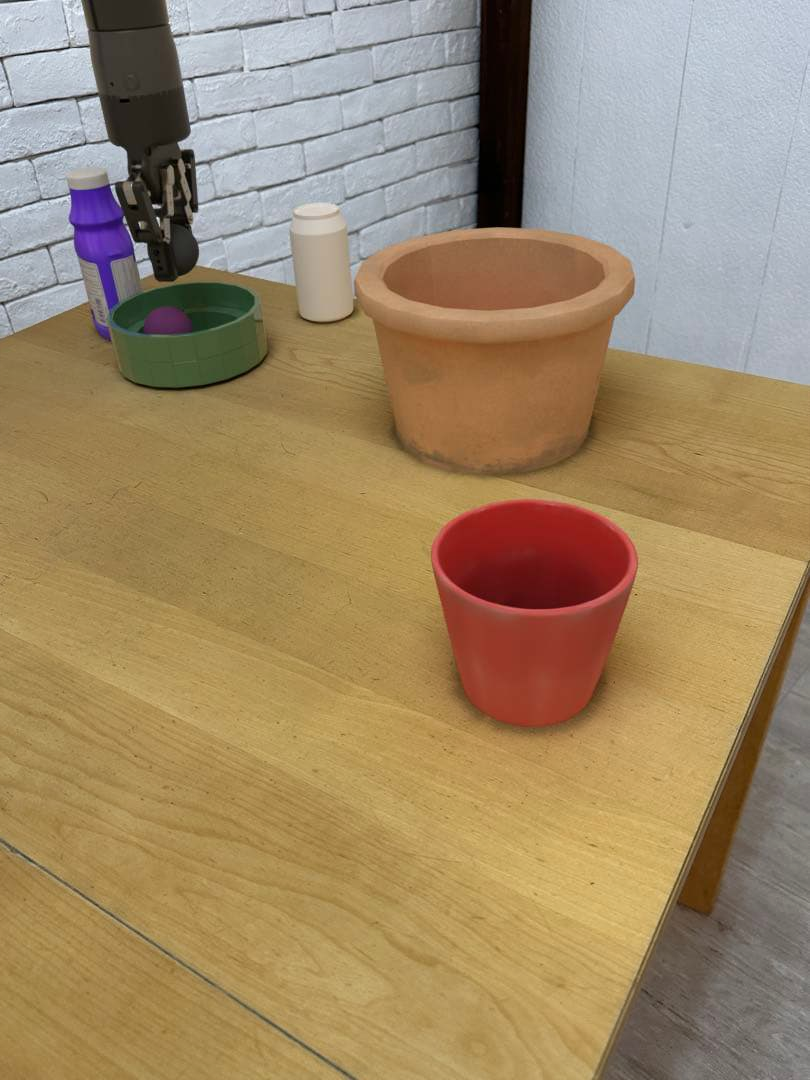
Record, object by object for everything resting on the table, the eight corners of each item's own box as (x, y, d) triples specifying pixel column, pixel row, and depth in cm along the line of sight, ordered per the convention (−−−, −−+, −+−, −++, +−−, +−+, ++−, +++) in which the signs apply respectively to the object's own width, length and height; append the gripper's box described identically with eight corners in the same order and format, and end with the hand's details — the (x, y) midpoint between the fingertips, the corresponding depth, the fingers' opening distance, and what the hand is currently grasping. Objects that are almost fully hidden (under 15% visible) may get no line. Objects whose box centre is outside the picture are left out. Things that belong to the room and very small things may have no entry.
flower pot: (483, 604, 60) (484, 478, 54) (645, 656, 55) (664, 524, 50) (402, 707, 53) (393, 574, 47) (581, 777, 48) (594, 639, 42)
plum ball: (169, 372, 93) (127, 344, 92) (188, 355, 97) (148, 327, 96) (190, 335, 90) (146, 305, 89) (208, 318, 94) (167, 290, 93)
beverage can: (314, 332, 100) (301, 221, 93) (291, 315, 104) (277, 207, 97) (364, 319, 102) (355, 210, 95) (339, 303, 106) (329, 197, 99)
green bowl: (95, 392, 90) (80, 335, 86) (155, 332, 102) (143, 280, 98) (242, 397, 87) (232, 338, 84) (285, 335, 99) (278, 281, 96)
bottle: (160, 336, 100) (125, 172, 90) (111, 350, 98) (69, 182, 88) (137, 318, 106) (101, 160, 95) (89, 330, 103) (47, 170, 93)
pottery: (509, 356, 92) (512, 211, 83) (673, 440, 76) (696, 272, 68) (323, 419, 83) (305, 263, 74) (466, 528, 67) (464, 346, 59)
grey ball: (145, 283, 90) (133, 232, 87) (164, 266, 94) (154, 217, 91) (192, 284, 89) (183, 232, 86) (210, 267, 93) (201, 217, 90)
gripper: (133, 72, 87) (168, 249, 97) (64, 99, 76) (111, 296, 86) (207, 70, 86) (235, 249, 96) (147, 97, 75) (186, 298, 85)
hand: (176, 270), depth 91 cm, fingers closed on grey ball, 4 cm apart
